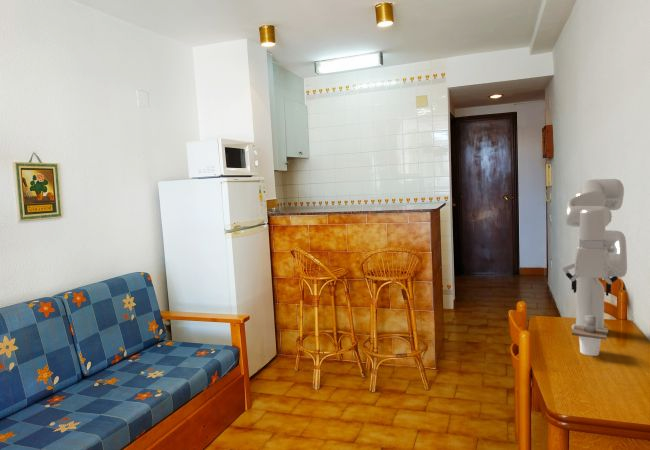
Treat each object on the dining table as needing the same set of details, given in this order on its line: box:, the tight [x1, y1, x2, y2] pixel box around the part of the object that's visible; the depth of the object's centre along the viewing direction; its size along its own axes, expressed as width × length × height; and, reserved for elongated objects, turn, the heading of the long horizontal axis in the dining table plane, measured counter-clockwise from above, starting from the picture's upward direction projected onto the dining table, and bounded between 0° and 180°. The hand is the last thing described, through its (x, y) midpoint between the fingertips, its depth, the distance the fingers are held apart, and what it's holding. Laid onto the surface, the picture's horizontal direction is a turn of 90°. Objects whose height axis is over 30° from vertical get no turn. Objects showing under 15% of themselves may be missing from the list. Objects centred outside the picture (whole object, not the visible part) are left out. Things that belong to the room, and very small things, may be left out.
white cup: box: [578, 336, 602, 357], centre depth 158 cm, size 7×7×7 cm
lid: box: [571, 315, 608, 341], centre depth 158 cm, size 10×10×6 cm
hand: (590, 293), depth 157 cm, fingers open, 9 cm apart
